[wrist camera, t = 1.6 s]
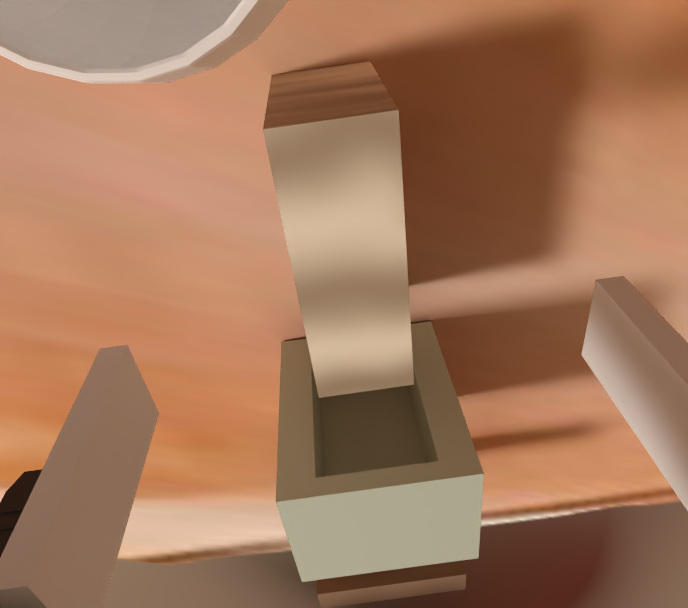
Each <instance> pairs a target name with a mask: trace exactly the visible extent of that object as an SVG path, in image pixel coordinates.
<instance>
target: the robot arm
mask: <svg viewBox="0 0 688 608" xmlns="http://www.w3.org/2000/svg"><path fill="white" fill-rule="evenodd" d="M582 357H583V358H584V359H585V361H586V362H587V364H588V365H589V367H590V368H591V370H592V371H593V373H594V374H595V376H596V377H597V379H598V380H599V381H600V383H601V384H602V386H603V387H604V389H605V390H606V392H607V393H608V395H609V396H610V398H611V399H612V401H613V402H614V403H615V405H616V406H617V408H618V409H619V411H620V412H621V414H622V415H623V417H624V418H625V420H626V421H627V423H628V424H629V425H630V427H631V428H632V430H633V431H634V433H635V434H636V436H637V437H638V439H639V440H640V442H641V443H642V445H643V446H644V447H645V449H646V450H647V452H648V453H649V455H650V456H651V458H652V459H653V461H654V462H655V464H656V465H657V467H658V468H659V469H660V471H661V472H662V474H663V475H664V477H665V478H666V480H667V481H668V483H669V484H670V486H671V487H672V489H673V490H674V491H675V493H676V494H677V496H678V497H679V499H680V500H681V502H682V503H683V505H684V506H685V508H686V509H687V511H688V343H687V342H686V341H685V339H684V338H683V337H682V336H681V335H680V334H679V333H678V332H677V331H676V330H675V329H674V328H673V327H672V326H671V325H670V324H669V323H668V322H667V321H666V320H665V319H664V318H663V317H662V316H661V315H660V314H659V313H658V312H657V310H656V309H655V308H654V307H653V306H652V305H651V304H650V303H649V302H648V301H647V300H646V299H645V298H644V297H643V296H642V295H641V294H640V293H639V292H638V291H637V290H636V289H635V288H634V287H633V286H632V285H631V284H630V282H629V281H628V280H627V279H626V278H625V277H624V276H620V277H613V278H606V279H599V280H596V282H595V287H594V292H593V297H592V303H591V308H590V313H589V318H588V323H587V329H586V334H585V339H584V344H583V349H582ZM158 415H159V412H158V410H157V408H156V406H155V404H154V401H153V399H152V397H151V395H150V393H149V391H148V389H147V386H146V384H145V382H144V380H143V378H142V376H141V373H140V371H139V369H138V367H137V365H136V363H135V361H134V358H133V356H132V354H131V352H130V350H129V348H128V345H124V346H116V347H109V348H102V349H100V350H99V352H98V354H97V356H96V358H95V361H94V363H93V365H92V367H91V369H90V371H89V373H88V375H87V377H86V379H85V381H84V384H83V386H82V388H81V390H80V392H79V394H78V396H77V398H76V400H75V402H74V404H73V407H72V409H71V411H70V413H69V415H68V417H67V419H66V421H65V423H64V425H63V427H62V430H61V432H60V434H59V436H58V438H57V440H56V442H55V444H54V446H53V448H52V450H51V453H50V455H49V457H48V459H47V461H46V463H45V465H44V467H43V469H42V470H35V471H28V472H24V473H23V474H22V475H21V476H20V477H19V478H18V480H17V481H16V482H15V483H14V484H13V485H12V486H11V487H10V488H9V489H8V490H7V491H6V493H5V495H4V497H3V499H2V500H1V502H0V608H103V605H104V601H105V598H106V594H107V591H108V587H109V584H110V580H111V577H112V574H113V570H114V567H115V563H116V560H117V556H118V553H119V549H120V546H121V543H122V539H123V536H124V532H125V529H126V525H127V522H128V518H129V515H130V512H131V508H132V505H133V501H134V498H135V494H136V491H137V487H138V484H139V480H140V477H141V474H142V470H143V467H144V463H145V460H146V456H147V453H148V449H149V446H150V442H151V439H152V436H153V432H154V429H155V425H156V422H157V418H158Z"/></svg>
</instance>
